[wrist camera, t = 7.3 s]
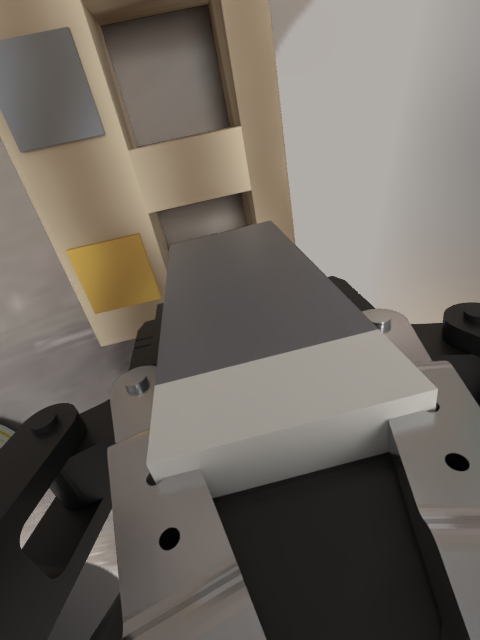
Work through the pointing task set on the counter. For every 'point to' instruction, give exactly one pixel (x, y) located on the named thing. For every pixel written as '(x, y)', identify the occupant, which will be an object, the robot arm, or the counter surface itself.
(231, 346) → the plug
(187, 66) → the counter surface
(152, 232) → the socket block
